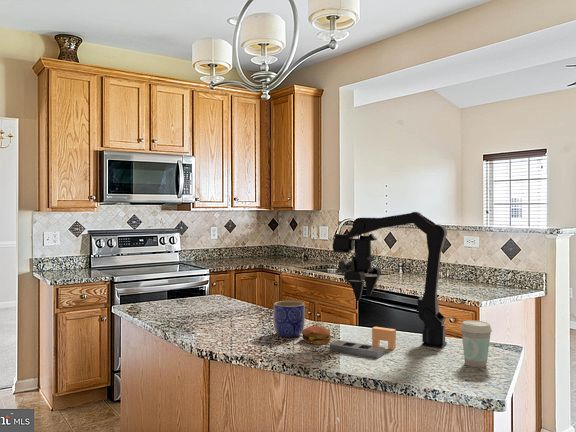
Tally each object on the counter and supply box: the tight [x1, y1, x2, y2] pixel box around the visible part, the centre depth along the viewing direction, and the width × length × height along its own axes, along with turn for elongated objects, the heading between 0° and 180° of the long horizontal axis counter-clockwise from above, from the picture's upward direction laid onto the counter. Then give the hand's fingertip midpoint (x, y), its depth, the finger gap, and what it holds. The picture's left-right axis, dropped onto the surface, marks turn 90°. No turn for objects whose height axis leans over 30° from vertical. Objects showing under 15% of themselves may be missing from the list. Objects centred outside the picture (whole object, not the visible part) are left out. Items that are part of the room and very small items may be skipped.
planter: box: [273, 300, 306, 338], centre depth 180 cm, size 11×11×11 cm
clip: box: [371, 326, 397, 351], centre depth 165 cm, size 7×2×6 cm, turn 59°
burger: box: [301, 325, 332, 346], centre depth 173 cm, size 10×9×5 cm
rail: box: [329, 339, 386, 359], centre depth 159 cm, size 16×6×2 cm, turn 58°
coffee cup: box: [459, 319, 493, 368], centre depth 147 cm, size 9×9×12 cm
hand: (363, 298), depth 178 cm, fingers open, 9 cm apart
